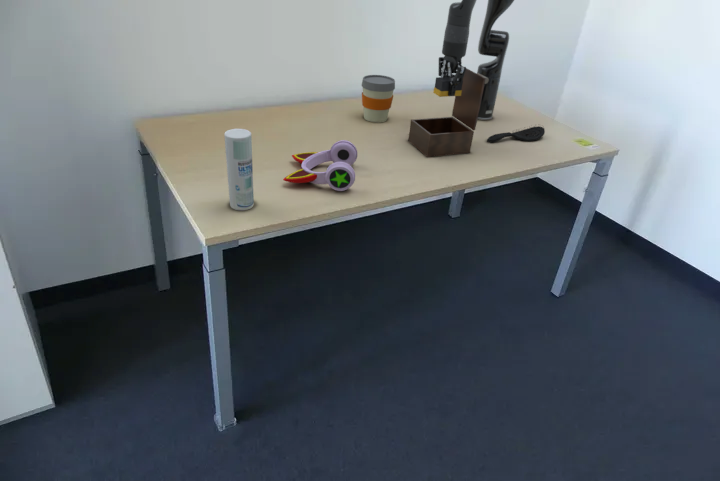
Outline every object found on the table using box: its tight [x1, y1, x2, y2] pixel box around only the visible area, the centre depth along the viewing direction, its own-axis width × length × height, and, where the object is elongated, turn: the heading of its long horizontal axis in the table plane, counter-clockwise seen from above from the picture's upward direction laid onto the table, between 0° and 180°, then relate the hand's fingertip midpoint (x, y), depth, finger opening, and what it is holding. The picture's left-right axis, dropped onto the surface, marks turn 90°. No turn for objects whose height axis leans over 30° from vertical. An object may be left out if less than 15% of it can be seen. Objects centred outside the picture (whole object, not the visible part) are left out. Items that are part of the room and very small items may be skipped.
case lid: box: [451, 67, 489, 131], centre depth 179 cm, size 17×15×5 cm
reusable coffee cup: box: [361, 74, 396, 123], centre depth 201 cm, size 13×13×15 cm
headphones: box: [283, 139, 358, 192], centre depth 156 cm, size 20×10×20 cm
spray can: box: [223, 128, 255, 211], centre depth 135 cm, size 6×6×20 cm
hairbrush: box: [486, 124, 546, 143], centre depth 196 cm, size 8×4×25 cm
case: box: [407, 116, 475, 158], centre depth 182 cm, size 17×15×8 cm
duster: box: [433, 76, 463, 98], centre depth 173 cm, size 8×4×5 cm, turn 112°
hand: (447, 93), depth 174 cm, fingers closed on duster, 4 cm apart
